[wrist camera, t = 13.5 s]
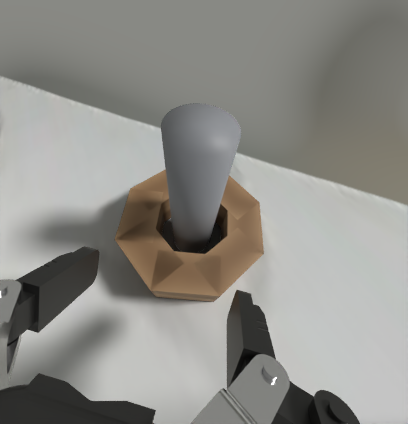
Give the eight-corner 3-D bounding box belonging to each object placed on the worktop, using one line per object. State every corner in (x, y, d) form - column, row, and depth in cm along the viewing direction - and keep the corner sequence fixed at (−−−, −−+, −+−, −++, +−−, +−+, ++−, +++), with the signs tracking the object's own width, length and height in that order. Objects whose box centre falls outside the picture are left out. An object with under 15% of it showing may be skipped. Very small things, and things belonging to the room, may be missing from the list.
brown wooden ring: (246, 194, 26) (256, 173, 22) (252, 304, 19) (267, 300, 16) (145, 183, 25) (139, 160, 22) (115, 293, 18) (99, 286, 15)
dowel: (210, 222, 23) (239, 108, 11) (208, 255, 21) (242, 161, 9) (176, 218, 23) (167, 99, 11) (170, 252, 21) (153, 150, 9)
